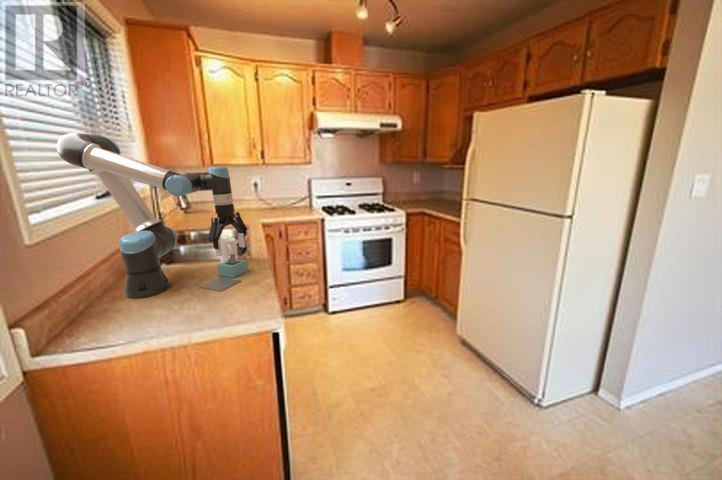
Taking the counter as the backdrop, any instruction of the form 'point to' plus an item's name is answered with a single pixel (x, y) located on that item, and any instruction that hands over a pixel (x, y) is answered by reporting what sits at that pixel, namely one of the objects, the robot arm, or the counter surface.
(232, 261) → the stand
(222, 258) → the mug
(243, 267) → the teal square frame
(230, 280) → the coaster
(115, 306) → the counter surface
